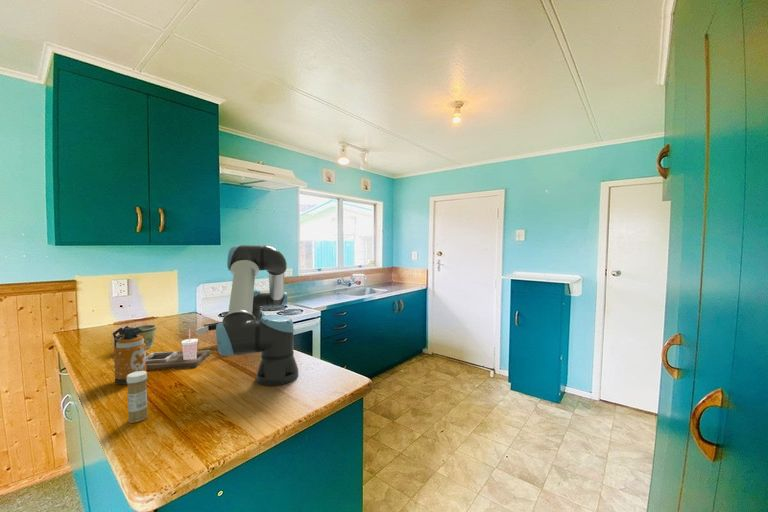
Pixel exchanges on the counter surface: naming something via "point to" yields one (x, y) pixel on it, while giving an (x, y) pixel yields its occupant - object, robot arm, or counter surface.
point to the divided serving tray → (173, 360)
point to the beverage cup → (189, 348)
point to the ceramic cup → (147, 334)
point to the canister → (128, 353)
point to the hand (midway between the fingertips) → (208, 333)
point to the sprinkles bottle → (137, 396)
